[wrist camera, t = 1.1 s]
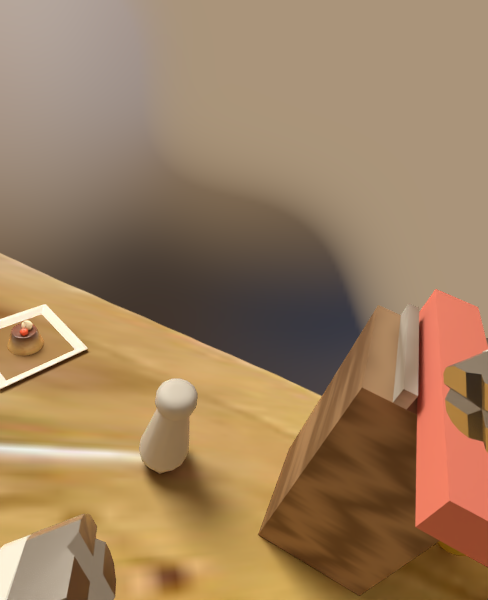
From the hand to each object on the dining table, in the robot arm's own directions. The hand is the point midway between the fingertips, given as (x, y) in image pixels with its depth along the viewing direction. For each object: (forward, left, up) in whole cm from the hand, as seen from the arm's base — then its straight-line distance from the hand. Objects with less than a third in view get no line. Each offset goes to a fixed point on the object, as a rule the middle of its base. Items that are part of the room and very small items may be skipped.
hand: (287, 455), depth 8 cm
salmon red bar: (+11, +19, -11) cm, 24 cm away
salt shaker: (-9, +18, -37) cm, 42 cm away
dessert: (-35, +22, -38) cm, 56 cm away
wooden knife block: (+11, +22, -37) cm, 44 cm away
